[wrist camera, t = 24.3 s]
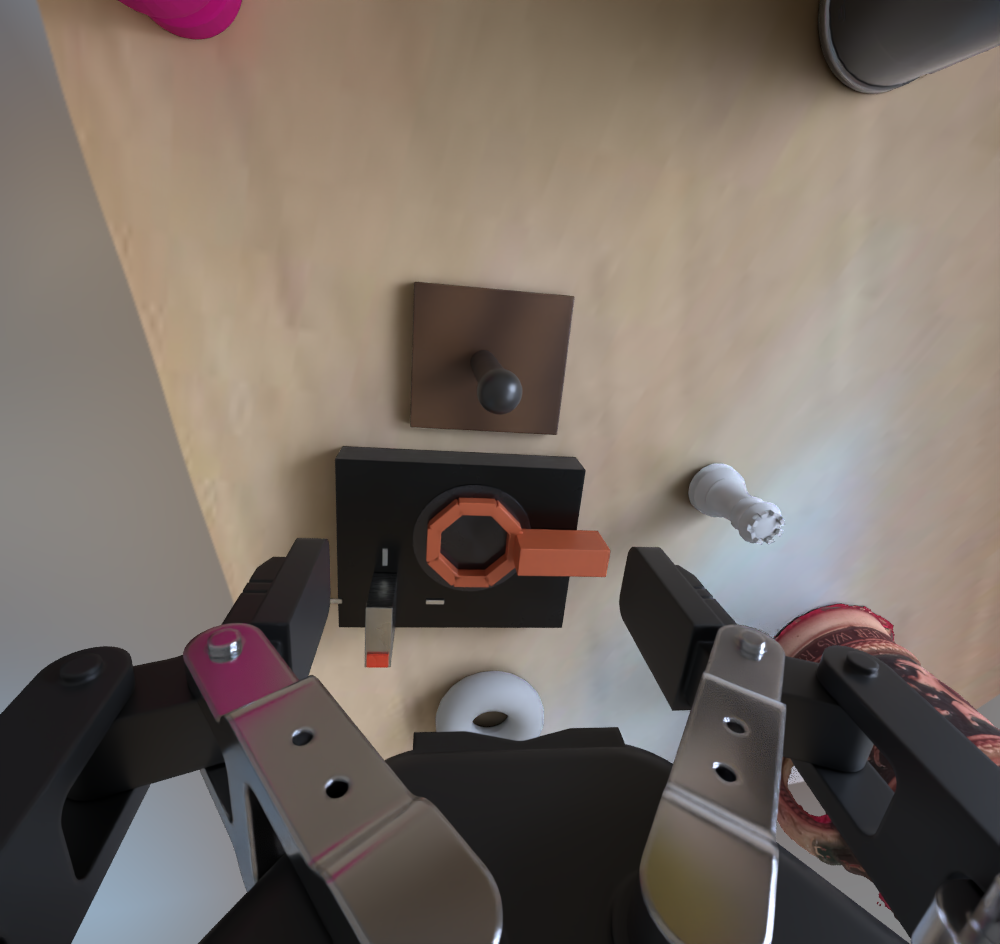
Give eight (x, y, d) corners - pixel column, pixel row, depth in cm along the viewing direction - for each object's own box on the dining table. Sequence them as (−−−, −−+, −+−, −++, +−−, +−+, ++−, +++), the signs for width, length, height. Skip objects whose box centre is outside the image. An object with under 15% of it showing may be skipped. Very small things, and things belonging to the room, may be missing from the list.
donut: (548, 664, 48) (441, 660, 46) (557, 691, 45) (442, 688, 43) (529, 745, 51) (429, 744, 50) (537, 776, 48) (429, 776, 46)
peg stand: (571, 296, 37) (632, 302, 25) (554, 431, 40) (601, 492, 29) (414, 281, 35) (404, 282, 24) (410, 423, 39) (399, 484, 27)
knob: (373, 572, 39) (365, 609, 35) (397, 573, 39) (392, 610, 35) (372, 627, 41) (364, 669, 36) (395, 628, 41) (390, 670, 37)
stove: (575, 457, 41) (586, 470, 38) (551, 626, 47) (559, 650, 44) (327, 445, 39) (318, 458, 36) (332, 626, 44) (324, 650, 41)
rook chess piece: (747, 477, 44) (811, 518, 36) (713, 519, 45) (768, 567, 37) (708, 451, 42) (767, 488, 35) (675, 495, 43) (724, 539, 36)
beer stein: (891, 596, 53) (740, 591, 48) (1400, 855, 27) (1173, 895, 22) (844, 735, 57) (700, 742, 52) (1251, 1084, 30) (1030, 1159, 26)
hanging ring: (425, 579, 40) (424, 604, 37) (428, 496, 38) (428, 514, 35) (589, 581, 42) (601, 605, 39) (602, 502, 39) (616, 520, 36)
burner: (537, 486, 38) (537, 487, 38) (524, 591, 41) (525, 591, 41) (414, 482, 37) (414, 482, 37) (410, 590, 40) (410, 590, 40)
